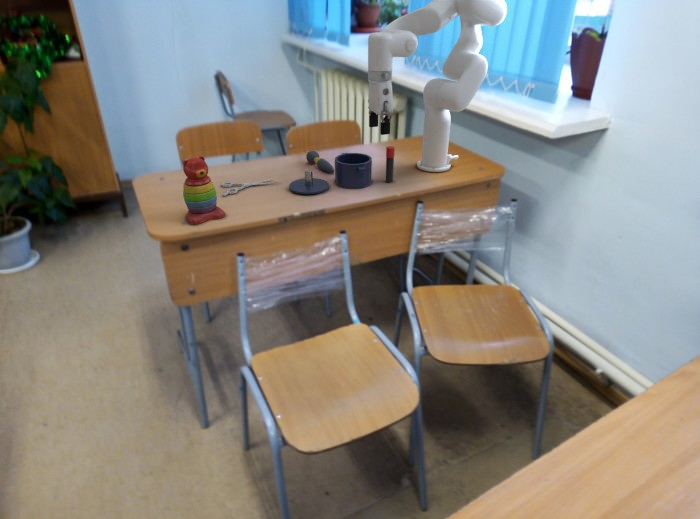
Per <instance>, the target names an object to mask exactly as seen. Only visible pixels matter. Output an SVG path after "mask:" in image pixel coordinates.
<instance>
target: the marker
mask: <svg viewBox="0 0 700 519" xmlns="http://www.w3.org/2000/svg"><path fill="white" fill-rule="evenodd" d="M385 148H386V150H385V159H386V160H385V183H388V184H391V183H393V182H394V170H395V169H394V168H395V167H394V165H395V152H396V150H395V146H392V145H389V146H386V147H385Z"/></svg>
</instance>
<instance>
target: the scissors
mask: <svg viewBox="0 0 700 519" xmlns="http://www.w3.org/2000/svg"><path fill="white" fill-rule="evenodd" d="M270 180H272V178H269V179H265V180H261V181H260V180H259V181H255V182H245V183H239V182H235V183H234V182H231V181H223V182H222V183H221V187H223V188H229V189H227V190H226V192H224V193H222V197H225V196H228V195H233V194H237V192H238V191H240V190H243V189H244V188H248V187H252V186H257V185H269V184H275V183H277V182H276V181H274V182H268V181H270ZM232 186H233V188H230V187H232ZM235 186H239V187H236V188H234V187H235Z"/></svg>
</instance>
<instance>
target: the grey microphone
mask: <svg viewBox="0 0 700 519" xmlns="http://www.w3.org/2000/svg"><path fill="white" fill-rule="evenodd" d="M305 157H306V162H308V163H309V164H311V165H316V166H317V167H318V169H320V170H322V171H324V172H327V173H330V174H333V173H335V167H333V165H332V164H331V163H330V162H329V161H327V160H326V159H325V158H322V157H320V153H319V152H318V151H316V150H310V151H308V152H307V153H306V156H305Z"/></svg>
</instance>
